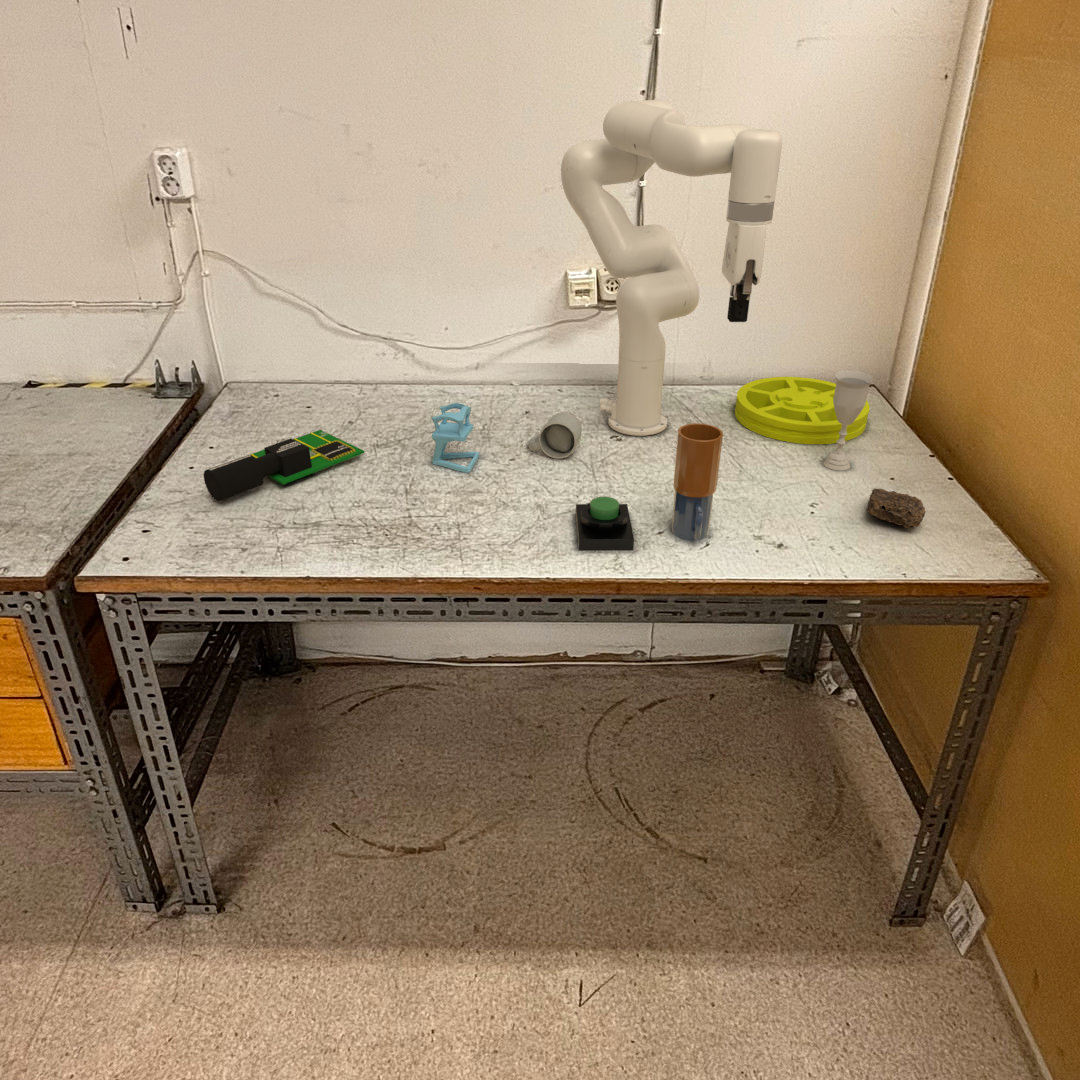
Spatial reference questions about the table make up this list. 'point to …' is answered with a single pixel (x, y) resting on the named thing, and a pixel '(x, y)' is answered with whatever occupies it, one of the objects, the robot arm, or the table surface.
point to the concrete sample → (896, 508)
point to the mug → (691, 517)
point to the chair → (452, 436)
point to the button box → (604, 531)
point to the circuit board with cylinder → (278, 464)
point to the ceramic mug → (558, 436)
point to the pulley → (794, 410)
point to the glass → (697, 460)
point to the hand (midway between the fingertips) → (736, 320)
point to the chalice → (847, 410)
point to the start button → (604, 508)
